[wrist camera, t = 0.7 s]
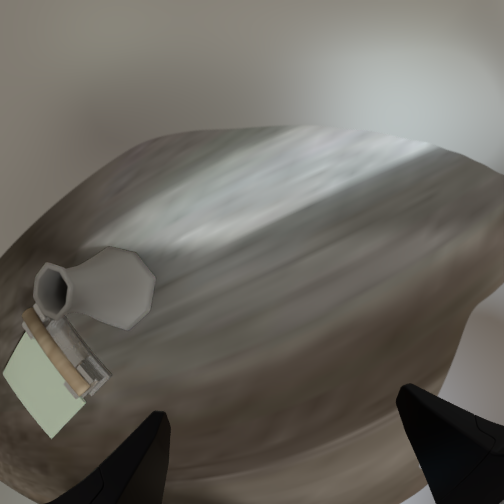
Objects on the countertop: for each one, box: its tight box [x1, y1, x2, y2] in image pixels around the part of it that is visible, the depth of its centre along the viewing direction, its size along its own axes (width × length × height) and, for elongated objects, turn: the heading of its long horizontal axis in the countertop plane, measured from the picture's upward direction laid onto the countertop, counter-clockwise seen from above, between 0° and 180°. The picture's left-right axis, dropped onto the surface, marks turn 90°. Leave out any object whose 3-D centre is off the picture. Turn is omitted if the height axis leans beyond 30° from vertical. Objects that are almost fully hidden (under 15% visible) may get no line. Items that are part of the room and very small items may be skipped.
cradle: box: [22, 303, 112, 399], centre depth 19 cm, size 10×4×3 cm, turn 45°
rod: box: [22, 308, 91, 397], centre depth 18 cm, size 9×2×2 cm, turn 45°
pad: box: [3, 332, 86, 439], centre depth 20 cm, size 10×10×1 cm
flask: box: [33, 246, 156, 331], centre depth 17 cm, size 7×7×10 cm
